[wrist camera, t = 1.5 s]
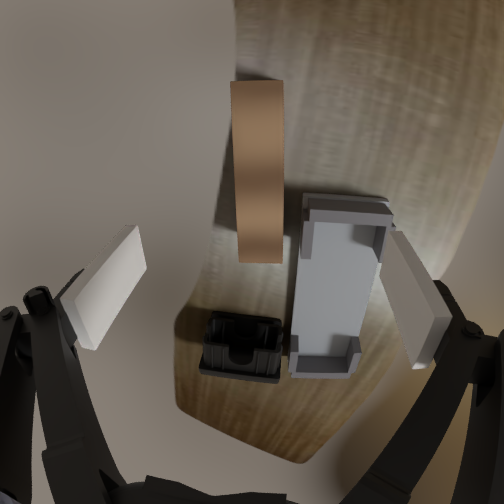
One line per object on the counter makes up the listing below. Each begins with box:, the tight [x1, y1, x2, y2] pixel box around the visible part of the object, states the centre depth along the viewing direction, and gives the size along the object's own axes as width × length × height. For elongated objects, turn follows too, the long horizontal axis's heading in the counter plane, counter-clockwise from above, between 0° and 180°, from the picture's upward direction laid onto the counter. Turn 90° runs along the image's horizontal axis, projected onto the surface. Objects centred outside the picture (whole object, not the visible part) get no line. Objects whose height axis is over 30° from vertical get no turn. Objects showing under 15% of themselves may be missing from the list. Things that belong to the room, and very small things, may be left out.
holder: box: [288, 193, 396, 379], centre depth 35 cm, size 24×9×4 cm, turn 0°
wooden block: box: [230, 80, 284, 264], centre depth 28 cm, size 16×4×6 cm, turn 2°
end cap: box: [199, 311, 283, 384], centre depth 39 cm, size 10×7×7 cm
